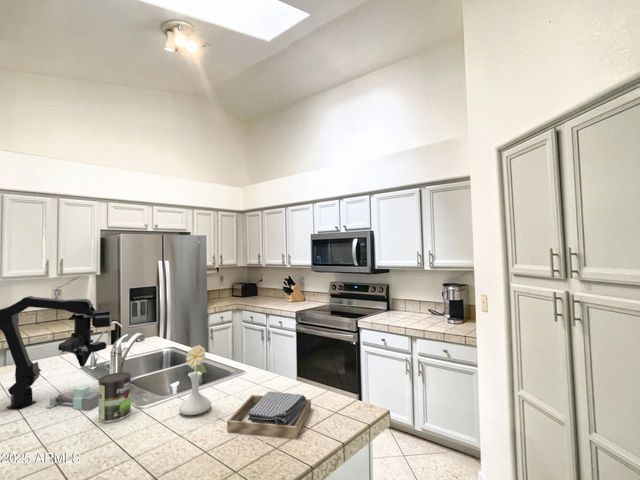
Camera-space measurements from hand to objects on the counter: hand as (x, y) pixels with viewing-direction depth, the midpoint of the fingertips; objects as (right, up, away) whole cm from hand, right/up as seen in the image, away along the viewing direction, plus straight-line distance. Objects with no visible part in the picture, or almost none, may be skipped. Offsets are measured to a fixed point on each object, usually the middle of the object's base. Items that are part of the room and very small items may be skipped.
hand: (82, 366), depth 143 cm
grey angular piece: (+4, -12, -10) cm, 16 cm away
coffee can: (+25, -11, -19) cm, 33 cm away
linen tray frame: (+83, -10, -23) cm, 87 cm away
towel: (+86, -10, -24) cm, 90 cm away
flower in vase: (+54, -11, -16) cm, 58 cm away
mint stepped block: (+8, -12, -11) cm, 18 cm away
